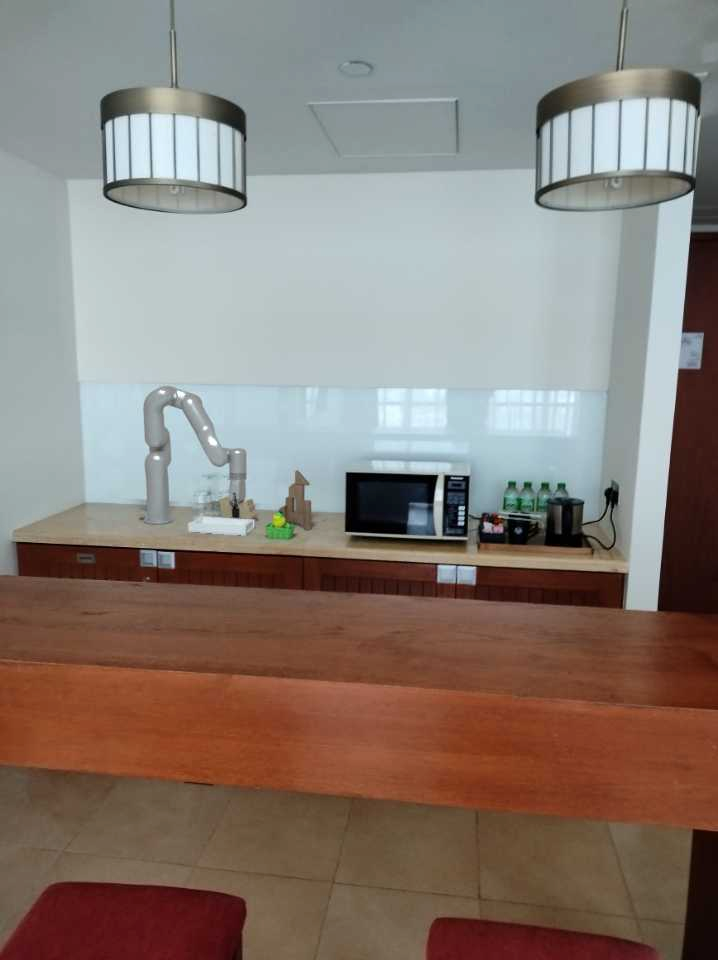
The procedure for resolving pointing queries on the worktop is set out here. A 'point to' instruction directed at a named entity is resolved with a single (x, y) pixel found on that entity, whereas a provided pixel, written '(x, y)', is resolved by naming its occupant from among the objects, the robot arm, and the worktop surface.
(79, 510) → the worktop surface
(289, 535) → the fruit basket
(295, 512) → the wooden toy
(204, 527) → the white tray
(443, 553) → the worktop surface
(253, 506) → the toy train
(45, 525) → the worktop surface
